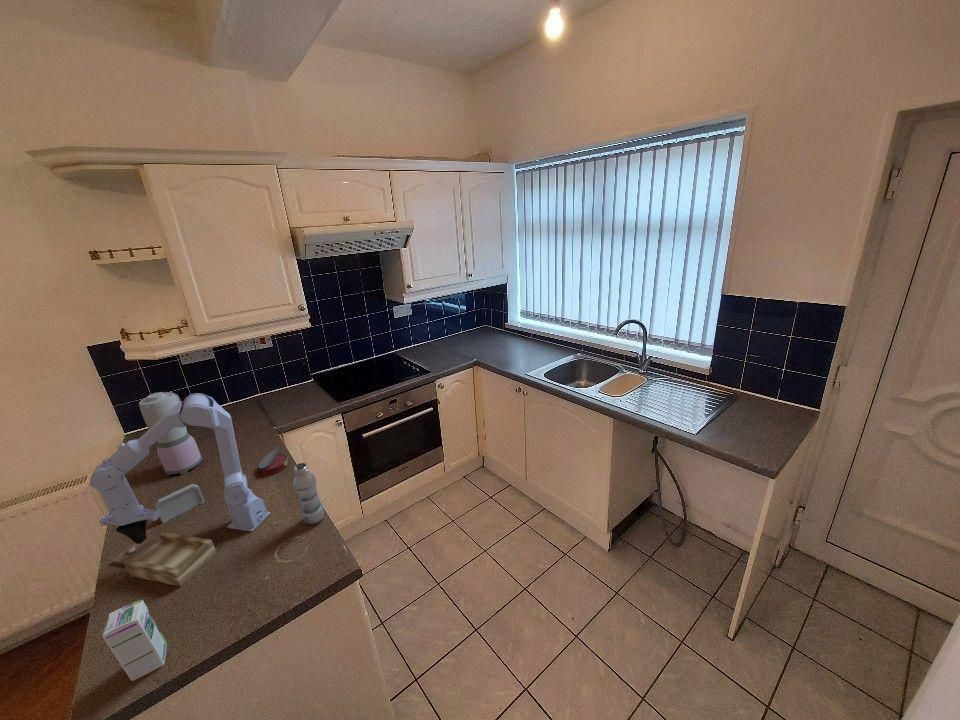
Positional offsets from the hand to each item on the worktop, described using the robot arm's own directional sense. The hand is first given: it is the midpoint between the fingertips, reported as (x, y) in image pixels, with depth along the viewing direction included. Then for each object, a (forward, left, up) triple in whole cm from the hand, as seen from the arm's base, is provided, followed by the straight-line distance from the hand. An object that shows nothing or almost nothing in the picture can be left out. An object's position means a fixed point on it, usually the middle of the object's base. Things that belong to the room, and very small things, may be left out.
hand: (141, 541), depth 109 cm
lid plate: (+5, -1, -8) cm, 9 cm away
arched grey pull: (+9, -18, -7) cm, 21 cm away
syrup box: (-29, +22, -7) cm, 37 cm away
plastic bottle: (-39, -22, -7) cm, 45 cm away
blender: (+34, -40, -7) cm, 53 cm away
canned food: (-5, -44, -7) cm, 45 cm away
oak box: (-9, 0, -7) cm, 11 cm away
